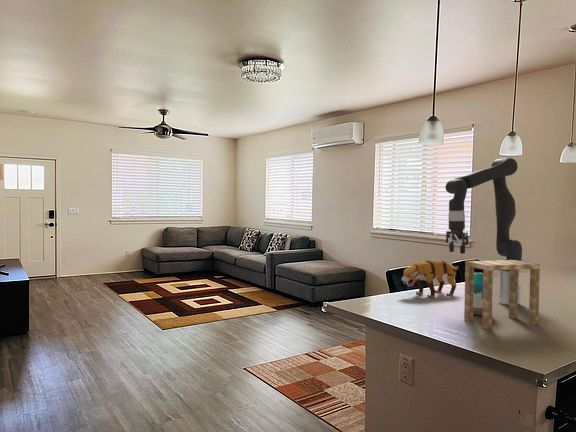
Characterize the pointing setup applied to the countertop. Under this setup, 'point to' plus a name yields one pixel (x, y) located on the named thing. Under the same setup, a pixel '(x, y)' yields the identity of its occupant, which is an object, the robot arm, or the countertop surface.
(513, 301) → the riser shelf
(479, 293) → the vase
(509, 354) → the countertop surface
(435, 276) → the toy
